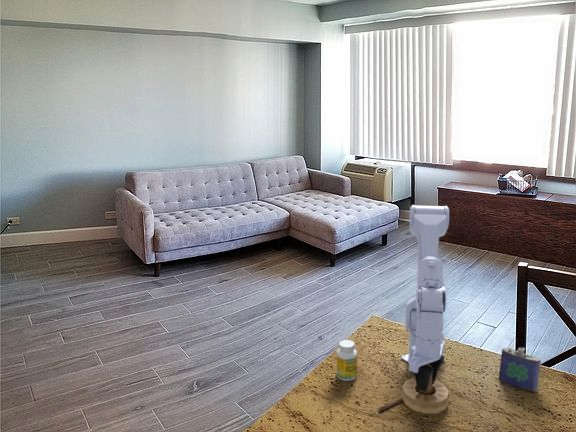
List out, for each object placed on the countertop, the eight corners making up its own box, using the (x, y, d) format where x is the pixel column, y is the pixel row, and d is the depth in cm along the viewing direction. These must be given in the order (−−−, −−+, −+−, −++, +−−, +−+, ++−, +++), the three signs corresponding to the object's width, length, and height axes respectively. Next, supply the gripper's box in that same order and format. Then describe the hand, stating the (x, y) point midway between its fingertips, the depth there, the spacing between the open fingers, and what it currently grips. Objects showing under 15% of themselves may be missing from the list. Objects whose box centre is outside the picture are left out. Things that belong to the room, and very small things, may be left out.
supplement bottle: (347, 368, 137) (348, 336, 134) (361, 377, 132) (361, 344, 130) (332, 374, 134) (332, 342, 131) (345, 384, 130) (345, 350, 127)
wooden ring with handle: (423, 382, 129) (423, 372, 129) (456, 403, 121) (457, 392, 120) (372, 406, 120) (372, 395, 119) (404, 430, 112) (404, 419, 111)
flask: (538, 389, 126) (542, 351, 123) (535, 395, 124) (539, 356, 121) (500, 377, 132) (503, 340, 129) (496, 382, 129) (500, 344, 127)
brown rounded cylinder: (420, 388, 124) (422, 358, 122) (433, 392, 122) (434, 362, 120) (415, 394, 122) (417, 364, 120) (428, 398, 120) (430, 368, 118)
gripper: (427, 319, 126) (424, 367, 129) (398, 341, 115) (395, 393, 119) (454, 328, 121) (450, 377, 125) (426, 351, 111) (423, 404, 114)
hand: (425, 385), depth 121 cm, fingers closed on brown rounded cylinder, 3 cm apart
